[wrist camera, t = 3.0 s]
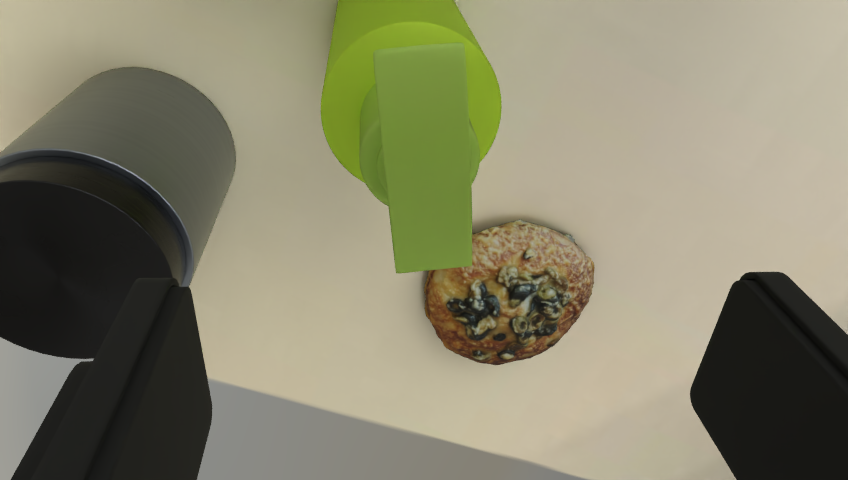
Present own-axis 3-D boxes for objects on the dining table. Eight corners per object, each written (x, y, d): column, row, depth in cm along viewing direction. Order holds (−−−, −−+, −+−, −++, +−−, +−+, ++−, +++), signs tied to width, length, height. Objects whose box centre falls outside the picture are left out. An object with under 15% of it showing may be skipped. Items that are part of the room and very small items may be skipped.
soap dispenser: (449, -74, 29) (569, 40, 12) (455, 71, 32) (551, 312, 16) (325, -64, 28) (268, 66, 12) (344, 81, 32) (323, 336, 15)
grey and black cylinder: (42, 63, 30) (-117, 169, 20) (226, 70, 31) (162, 175, 21) (83, 217, 35) (-28, 365, 25) (243, 220, 36) (196, 363, 26)
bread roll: (485, 373, 44) (494, 421, 40) (387, 269, 41) (385, 308, 36) (616, 289, 42) (642, 330, 37) (525, 169, 38) (541, 198, 33)
